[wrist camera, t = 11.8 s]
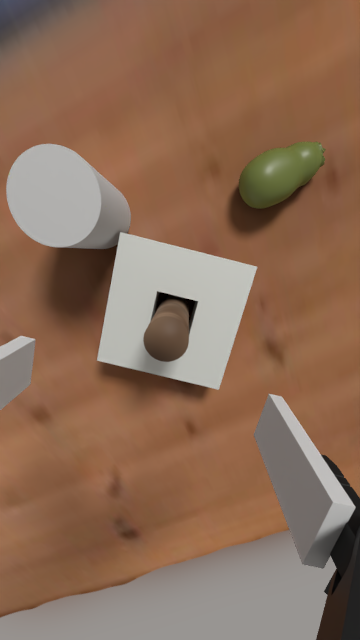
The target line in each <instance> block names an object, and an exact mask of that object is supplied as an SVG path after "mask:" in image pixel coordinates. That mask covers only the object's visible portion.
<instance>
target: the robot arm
mask: <svg viewBox="0 0 360 640" xmlns="http://www.w3.org/2000/svg"><path fill="white" fill-rule="evenodd" d="M34 348H35V339H33V338H28V337H24V336H20V337H18V338H16V339H14V340H12V341H10V342H9V343H7V344H5V345H3V346H1V347H0V410H1V409H2V408H3V407H5V406H6V405H7V404H8V403H9V402H10V401H12V400H13V399H14V398H15V397H16V396H17V395H19V394H20V393H21V392H22V391H23V390H24V389H25V388H27V387H28V386H29V385H30V383H31V374H32V366H33V357H34ZM254 437H255V439H256V442H257V445H258V447H259V450H260V453H261V455H262V458H263V461H264V463H265V466H266V469H267V471H268V474H269V477H270V479H271V482H272V485H273V487H274V490H275V493H276V495H277V498H278V501H279V503H280V506H281V509H282V511H283V514H284V517H285V519H286V522H287V524H288V527H289V530H290V532H291V535H292V538H293V540H294V543H295V546H296V548H297V551H298V554H299V556H300V559H301V562H302V564H304V565H309V566H315V567H319V568H324V567H325V565H326V563H327V561H328V559H329V557H330V555H331V557H332V559H333V561H334V563H335V566H336V568H337V569H336V571H335V573H334V574H333V576H332V578H331V580H330V582H329V583H328V585H327V587H326V589H325V591H324V592H325V593H326V594H327V595H328V596H327V600H326V604H325V607H324V611H323V615H322V619H321V623H320V627H319V631H318V635H317V639H316V640H360V498H359V497H358V495H357V494H356V492H355V491H354V490H353V488H352V487H350V484H349V483H348V481H347V480H346V478H344V475H343V474H342V473H341V471H340V470H339V468H338V467H337V466H336V465H335V464H334V463H333V462H332V461H331V460H330V459H329V458H328V457H327V456H325V455H321V454H320V453H319V451H318V450H317V448H316V447H315V445H314V444H313V442H312V441H311V439H310V438H309V436H308V435H307V433H306V432H305V430H304V429H303V427H302V426H301V424H300V423H299V422H298V420H297V419H296V417H295V416H294V414H293V413H292V411H291V410H290V408H289V407H288V405H287V404H286V402H285V401H284V399H283V398H282V397H281V396H276V395H272V394H269V395H268V398H267V400H266V403H265V406H264V408H263V411H262V414H261V417H260V419H259V422H258V425H257V427H256V430H255V433H254Z"/></svg>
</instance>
